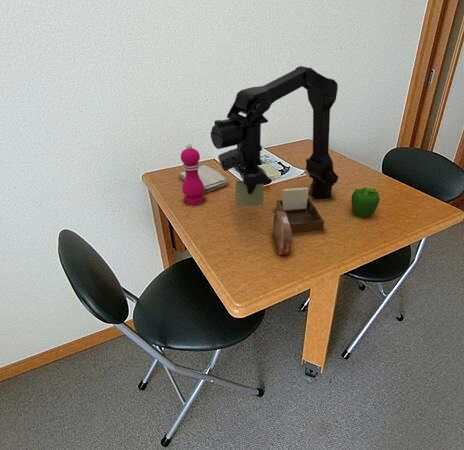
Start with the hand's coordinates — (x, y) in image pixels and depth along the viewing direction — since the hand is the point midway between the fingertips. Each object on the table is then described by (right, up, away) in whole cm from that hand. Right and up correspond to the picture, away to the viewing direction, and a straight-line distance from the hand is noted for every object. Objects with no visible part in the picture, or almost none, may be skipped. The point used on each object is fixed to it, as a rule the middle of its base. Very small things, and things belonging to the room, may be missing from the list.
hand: (249, 192), depth 99 cm
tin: (+9, -15, -3) cm, 18 cm away
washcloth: (-18, +7, +29) cm, 35 cm away
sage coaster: (0, -4, +2) cm, 4 cm away
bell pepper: (+36, -6, +11) cm, 38 cm away
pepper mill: (-19, -1, +17) cm, 26 cm away
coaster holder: (+15, -8, +7) cm, 19 cm away
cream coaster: (+14, -5, +11) cm, 19 cm away
